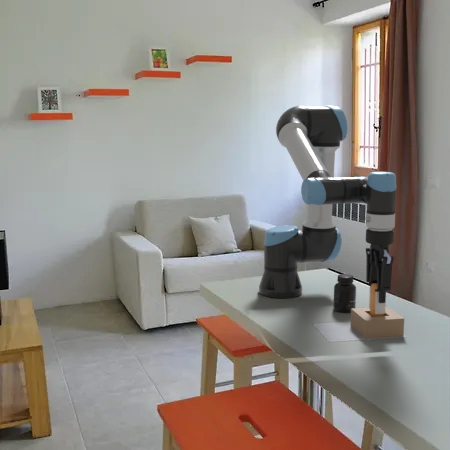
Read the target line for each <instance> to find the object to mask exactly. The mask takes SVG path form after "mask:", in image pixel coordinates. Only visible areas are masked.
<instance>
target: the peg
mask: <svg viewBox="0 0 450 450" xmlns="http://www.w3.org/2000/svg"><path fill="white" fill-rule="evenodd" d="M375 289H377V283H373V284H371V307H370V316H371V317H377V316H383V315H384V314H375V297H376V292H375Z"/></svg>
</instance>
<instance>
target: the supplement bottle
mask: <svg viewBox="0 0 450 450" xmlns="http://www.w3.org/2000/svg"><path fill="white" fill-rule="evenodd" d="M336 281H337V282H336V283H335V285H334V286H333V305H332V306H333V308H332V309H333V311H334V312H336V313H340V314H351V309H353V308H356V307H357V306H356V303H357V286H356V285H355V284H354V275H353V274H347V273H341V274H338V275H337V279H336Z"/></svg>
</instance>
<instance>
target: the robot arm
mask: <svg viewBox="0 0 450 450" xmlns="http://www.w3.org/2000/svg"><path fill="white" fill-rule="evenodd" d="M275 129H276V130H275V133H276V137H277V139H278V142H279V144H280V145H281V146H282V147H283V148H286V150H287V152H288V154H289V156H290V157H291V160H292V162H293V164H294V166H295V167H296V169H297V171H298V174H299V175H300V177H301V179H302V184H301V186H300V193H301V198H302V200H303V203H304V204H306V205H307V210H306V212H307V215H306V219H305V220H304V221H303V222H302V228H301V229H299V227H298V226H297V225H294V224H293V225H292V224H290V225H279V226H274V227H270V228H269V229H267V230H266V231H265V233H264V240H263V246H264V248H263V256H264V257H263V260H264V261H263V263H264V265H263V266H264V267H263V273H262V276H261V280H260V283H259V285H258V293H259V294H260V295H261V296H264V297H268V298H274V299H289V298H296V297H299V296H300V295H302V294H303V285H302V282H301V279H300V276H299V272H298V264H300V263H316V262H317V263H319V262H321V263H324V262H329V261H334V260H335V259H336V258H337V257H338V256H339V255H340V253H341V249H342V237H341V236H342V233H341V231H340V229H339V228H337V224H336V223H335V222H334V220H333V205H340V204H342V205H344V204H348V205H349V204H366V216H365V218H364V220H365V222H366V230H365V242H366V243H367V244H370V247H365V254H366V256H365V257H366V258H365V259H366V262H365V263H366V267H365V268H366V274H365V275H366V277H365V278H366V281H365V282H366V283H368V286H369V300H368V302H369V303H368V308H369V309H370V307H371V284H373V283H377V289H375V292H376V297H375V314H385V307H387V306H386V305H387V304H386V302H387V292H389V291H391V288H392V287H391V286H392V272H393V271H392V270H393V264H394V256H393V255H390V251H389V245H392V244H394V241H395V231H394V228H396V227H395V226H396V224H395V223H396V200H397V199H396V198H397V189H398V188H397V175H396V173H394V172H390V171H372V172H369V174H368V175H356V176H355V175H354V176H351V177H350V176H344V177H342V176H341V177H340V176H339V177H335V160H336V159H335V158H336V157H335V156H336V151H337V150H338V149H339V148H340V146H341V142H342V141H345V139H346V138H347V135H348V120H347V116H346V114H345V112H344V111H343V109H342V108H341V107H339V106H335V105H334V106H333V105H296V106H293V107H290V108H288V109H287V110H285V111H284V112H283V113H282V114H281V116H280V117H279V118H278V120H277V123H276V127H275Z"/></svg>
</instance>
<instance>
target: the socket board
mask: <svg viewBox="0 0 450 450" xmlns="http://www.w3.org/2000/svg"><path fill="white" fill-rule="evenodd" d="M312 326H314V327H315V329H316V330H317V331H318V332H319V333H320V334H321V335H322V336H323V337H324V338H325V339H326V340H327V342H328V343H338V342H354V341H355V342H356V341H372V340H373V341H374V340H389V339H403V338H407V336H406V335H405V333H404V332H405V318H404V317H403V316H401V315H400V314H398V313H397V312H396V311H394V310H393V309H392V308H390V307H388V306H386V307H385V314H384V315H383V316H377V317H371V316H370V309H369V307H357V308H356V307H355V308H353V309H351V313H350V321H343V322H342V321H341V322H323V323H312Z"/></svg>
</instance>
